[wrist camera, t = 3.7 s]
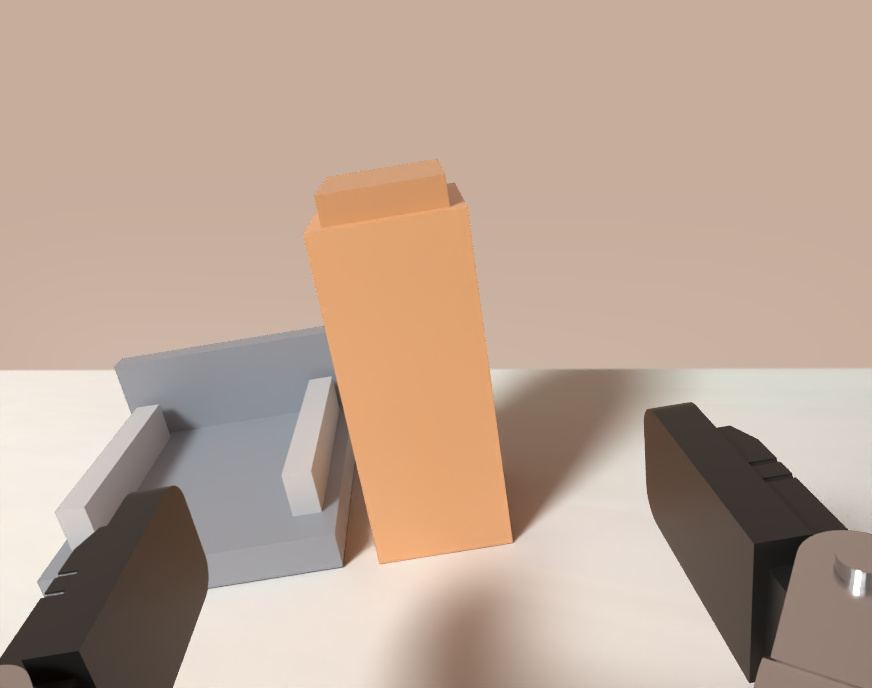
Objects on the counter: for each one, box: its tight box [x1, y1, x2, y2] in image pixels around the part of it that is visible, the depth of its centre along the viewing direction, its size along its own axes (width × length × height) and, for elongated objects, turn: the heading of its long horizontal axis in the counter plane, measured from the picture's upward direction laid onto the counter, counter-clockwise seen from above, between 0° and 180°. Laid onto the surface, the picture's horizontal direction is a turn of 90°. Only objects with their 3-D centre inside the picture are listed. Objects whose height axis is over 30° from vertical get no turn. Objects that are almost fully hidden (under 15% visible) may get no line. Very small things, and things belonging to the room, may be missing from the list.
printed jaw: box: [303, 159, 513, 564], centre depth 20 cm, size 4×4×11 cm
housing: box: [37, 326, 355, 597], centre depth 23 cm, size 9×9×4 cm
